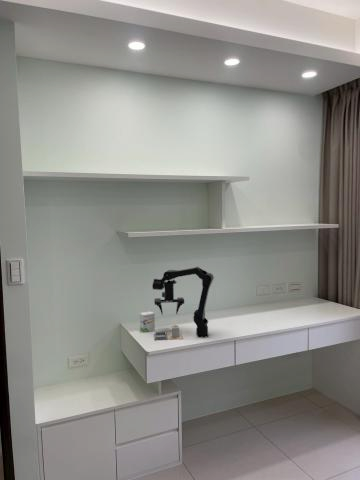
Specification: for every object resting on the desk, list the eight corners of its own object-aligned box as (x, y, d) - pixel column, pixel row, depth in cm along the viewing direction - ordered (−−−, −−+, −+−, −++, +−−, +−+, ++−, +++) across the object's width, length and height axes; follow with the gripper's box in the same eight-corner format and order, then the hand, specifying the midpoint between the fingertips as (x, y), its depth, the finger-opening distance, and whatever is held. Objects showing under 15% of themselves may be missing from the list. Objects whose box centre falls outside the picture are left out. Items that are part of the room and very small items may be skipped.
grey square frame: (166, 334, 233) (166, 331, 232) (167, 339, 224) (167, 336, 224) (154, 335, 232) (154, 332, 232) (154, 340, 223) (154, 337, 223)
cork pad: (181, 333, 234) (181, 333, 234) (183, 339, 225) (183, 338, 225) (167, 334, 233) (167, 334, 233) (168, 339, 224) (168, 339, 224)
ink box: (142, 332, 237) (142, 314, 236) (140, 330, 241) (139, 312, 240) (155, 330, 241) (154, 312, 240) (152, 328, 245) (151, 311, 244)
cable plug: (178, 334, 231) (178, 323, 231) (179, 337, 226) (178, 326, 226) (171, 335, 231) (171, 324, 230) (172, 337, 226) (172, 326, 225)
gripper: (182, 287, 243) (182, 310, 244) (154, 287, 241) (154, 311, 242) (184, 290, 232) (184, 315, 233) (154, 291, 230) (154, 316, 231)
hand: (169, 314), depth 235 cm, fingers open, 9 cm apart
